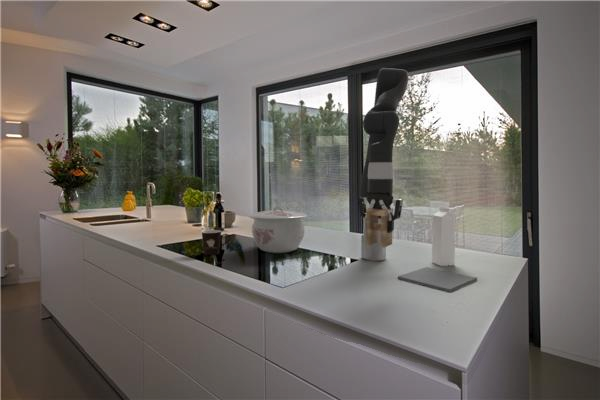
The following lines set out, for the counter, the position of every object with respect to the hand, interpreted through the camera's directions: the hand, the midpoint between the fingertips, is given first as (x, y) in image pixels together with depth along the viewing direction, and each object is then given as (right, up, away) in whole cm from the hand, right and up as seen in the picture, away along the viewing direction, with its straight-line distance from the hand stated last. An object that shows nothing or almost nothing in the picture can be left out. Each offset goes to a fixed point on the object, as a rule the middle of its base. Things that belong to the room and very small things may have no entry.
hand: (379, 231), depth 108 cm
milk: (+31, -15, +27) cm, 44 cm away
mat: (+21, -16, +7) cm, 27 cm away
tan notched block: (0, -4, 0) cm, 4 cm away
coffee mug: (-63, -15, +48) cm, 80 cm away
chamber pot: (-35, -14, +55) cm, 66 cm away
